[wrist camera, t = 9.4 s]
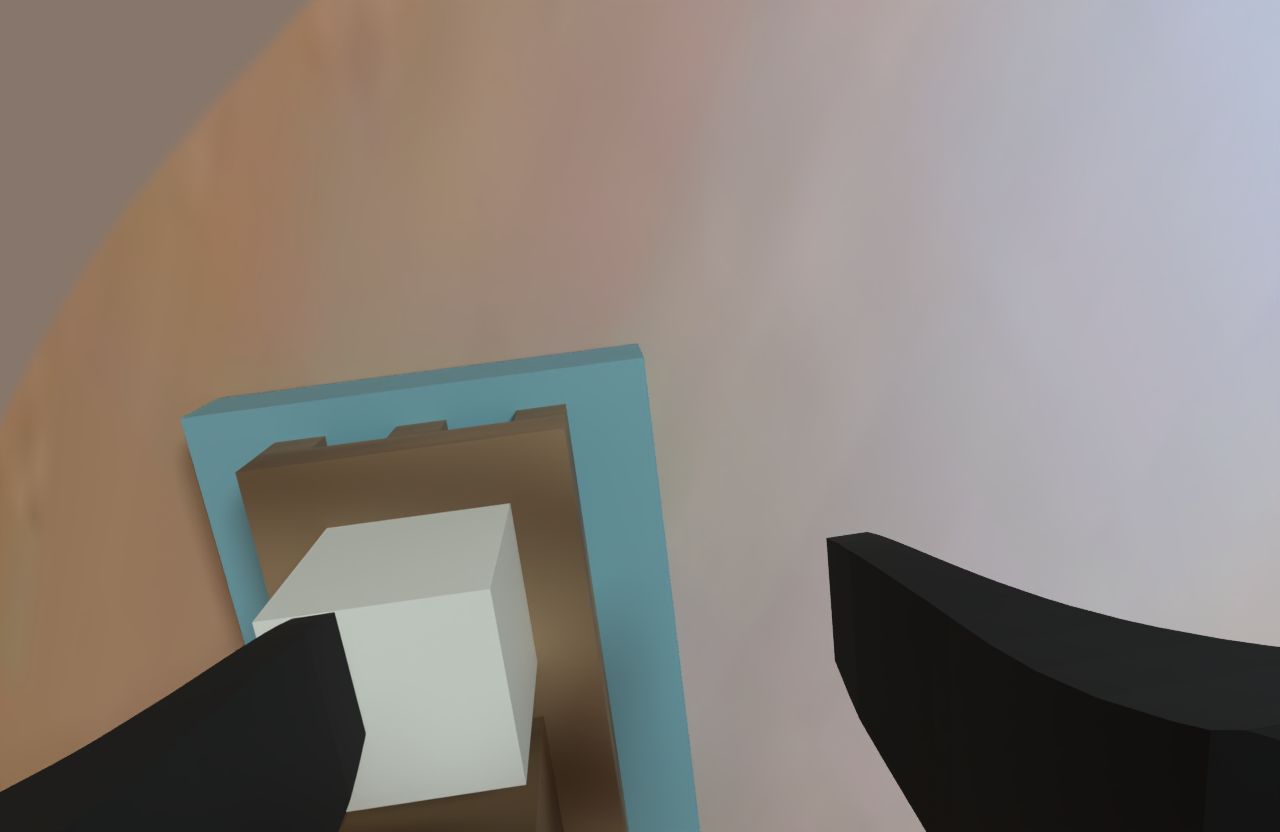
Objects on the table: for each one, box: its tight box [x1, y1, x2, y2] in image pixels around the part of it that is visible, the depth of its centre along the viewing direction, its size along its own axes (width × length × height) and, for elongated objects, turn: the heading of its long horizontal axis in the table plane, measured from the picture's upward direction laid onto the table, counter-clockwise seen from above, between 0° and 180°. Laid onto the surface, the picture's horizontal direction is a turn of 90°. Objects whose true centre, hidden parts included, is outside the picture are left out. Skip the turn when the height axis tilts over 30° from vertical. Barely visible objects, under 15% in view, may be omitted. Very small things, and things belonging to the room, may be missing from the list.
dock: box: [180, 344, 700, 832], centre depth 22 cm, size 20×11×2 cm, turn 7°
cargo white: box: [252, 503, 537, 812], centre depth 16 cm, size 4×4×4 cm
